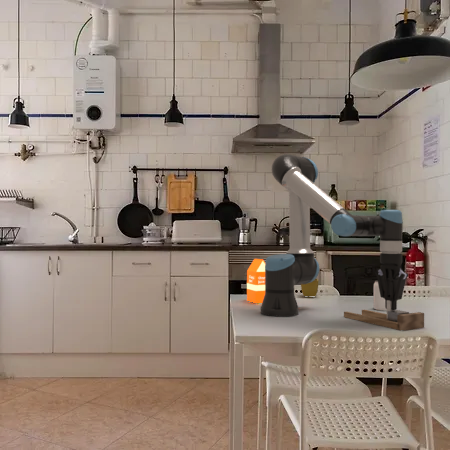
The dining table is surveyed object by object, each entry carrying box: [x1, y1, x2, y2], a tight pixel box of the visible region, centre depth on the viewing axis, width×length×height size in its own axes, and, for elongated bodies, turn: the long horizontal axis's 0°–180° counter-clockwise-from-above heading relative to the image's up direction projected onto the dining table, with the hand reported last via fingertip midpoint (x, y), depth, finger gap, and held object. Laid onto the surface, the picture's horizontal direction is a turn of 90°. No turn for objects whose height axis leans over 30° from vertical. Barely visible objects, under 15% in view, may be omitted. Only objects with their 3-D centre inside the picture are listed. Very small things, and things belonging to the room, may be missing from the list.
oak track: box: [343, 309, 425, 331], centre depth 165 cm, size 11×27×5 cm, turn 30°
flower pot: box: [300, 278, 320, 297], centre depth 226 cm, size 9×9×9 cm
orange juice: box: [246, 258, 266, 304], centre depth 208 cm, size 8×9×20 cm
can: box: [373, 280, 387, 312], centre depth 191 cm, size 6×6×12 cm
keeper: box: [388, 309, 410, 322], centre depth 159 cm, size 5×5×5 cm
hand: (390, 318), depth 161 cm, fingers closed
